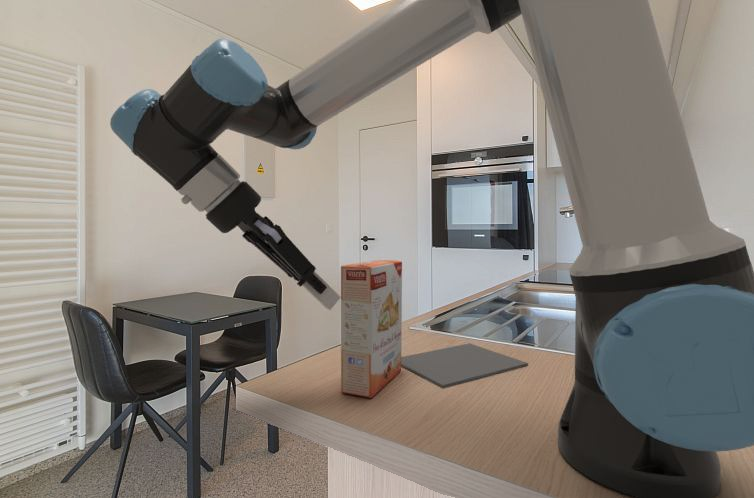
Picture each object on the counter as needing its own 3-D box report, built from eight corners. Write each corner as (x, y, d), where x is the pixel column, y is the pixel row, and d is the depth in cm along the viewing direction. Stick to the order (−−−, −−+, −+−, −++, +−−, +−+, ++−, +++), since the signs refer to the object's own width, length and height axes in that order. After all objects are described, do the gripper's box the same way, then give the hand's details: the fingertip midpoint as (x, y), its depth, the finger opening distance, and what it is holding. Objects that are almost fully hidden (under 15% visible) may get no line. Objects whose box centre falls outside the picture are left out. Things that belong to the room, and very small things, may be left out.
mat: (528, 365, 76) (528, 363, 76) (442, 388, 65) (442, 385, 65) (469, 345, 90) (469, 343, 90) (391, 361, 79) (391, 358, 79)
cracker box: (373, 400, 61) (372, 265, 60) (339, 394, 63) (337, 264, 62) (404, 370, 74) (403, 259, 73) (374, 366, 76) (373, 259, 75)
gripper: (197, 217, 60) (304, 314, 69) (209, 212, 48) (335, 329, 57) (233, 183, 62) (332, 281, 71) (252, 172, 51) (367, 290, 60)
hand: (333, 302), depth 64 cm, fingers closed
